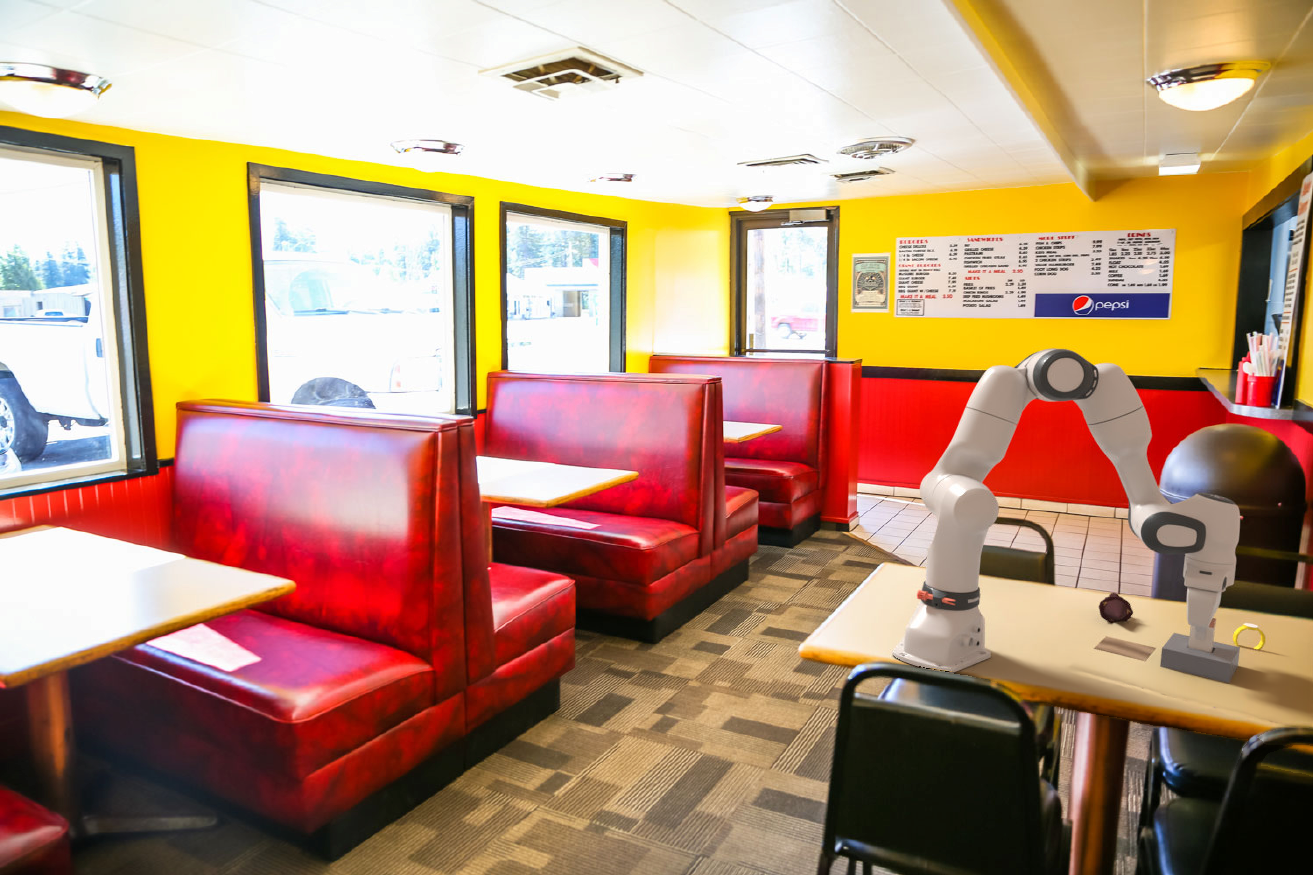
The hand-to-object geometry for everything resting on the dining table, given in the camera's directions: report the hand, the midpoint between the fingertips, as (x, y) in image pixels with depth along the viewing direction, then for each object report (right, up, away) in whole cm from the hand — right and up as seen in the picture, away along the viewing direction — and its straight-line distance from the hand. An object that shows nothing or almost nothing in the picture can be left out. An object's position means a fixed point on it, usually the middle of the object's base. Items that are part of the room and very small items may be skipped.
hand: (1201, 636), depth 175 cm
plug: (0, -6, +1) cm, 6 cm away
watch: (+18, -6, +13) cm, 23 cm away
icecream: (-2, -4, +29) cm, 30 cm away
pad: (-10, -6, +10) cm, 16 cm away
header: (0, -7, +1) cm, 8 cm away
